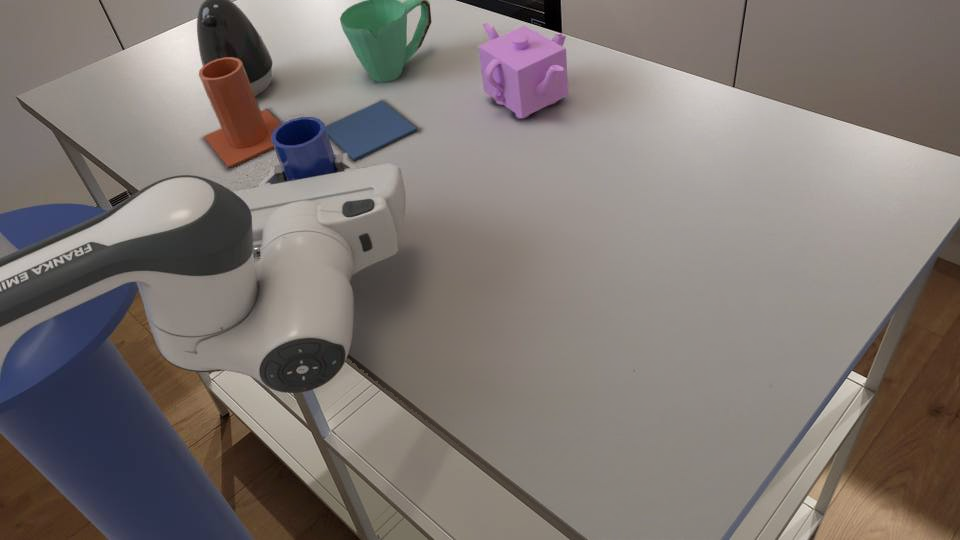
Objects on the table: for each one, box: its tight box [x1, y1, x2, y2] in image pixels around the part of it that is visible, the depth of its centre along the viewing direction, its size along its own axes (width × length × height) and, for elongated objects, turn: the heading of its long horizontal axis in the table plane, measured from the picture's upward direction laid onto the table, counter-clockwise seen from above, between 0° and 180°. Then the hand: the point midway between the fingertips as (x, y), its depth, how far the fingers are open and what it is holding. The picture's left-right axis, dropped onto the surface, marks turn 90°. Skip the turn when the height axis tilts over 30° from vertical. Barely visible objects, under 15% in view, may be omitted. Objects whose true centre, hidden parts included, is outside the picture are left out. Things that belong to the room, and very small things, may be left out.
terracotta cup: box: [198, 57, 268, 148], centre depth 105 cm, size 6×6×11 cm
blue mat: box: [325, 100, 418, 162], centre depth 107 cm, size 10×10×1 cm
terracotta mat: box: [203, 108, 282, 169], centre depth 109 cm, size 10×10×1 cm
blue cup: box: [271, 116, 337, 182], centre depth 85 cm, size 6×6×11 cm
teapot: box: [477, 22, 569, 119], centre depth 104 cm, size 18×13×10 cm
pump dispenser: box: [196, 0, 273, 97], centre depth 114 cm, size 10×10×15 cm
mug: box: [339, 0, 432, 83], centre depth 115 cm, size 15×10×10 cm
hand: (311, 164), depth 85 cm, fingers closed on blue cup, 6 cm apart
